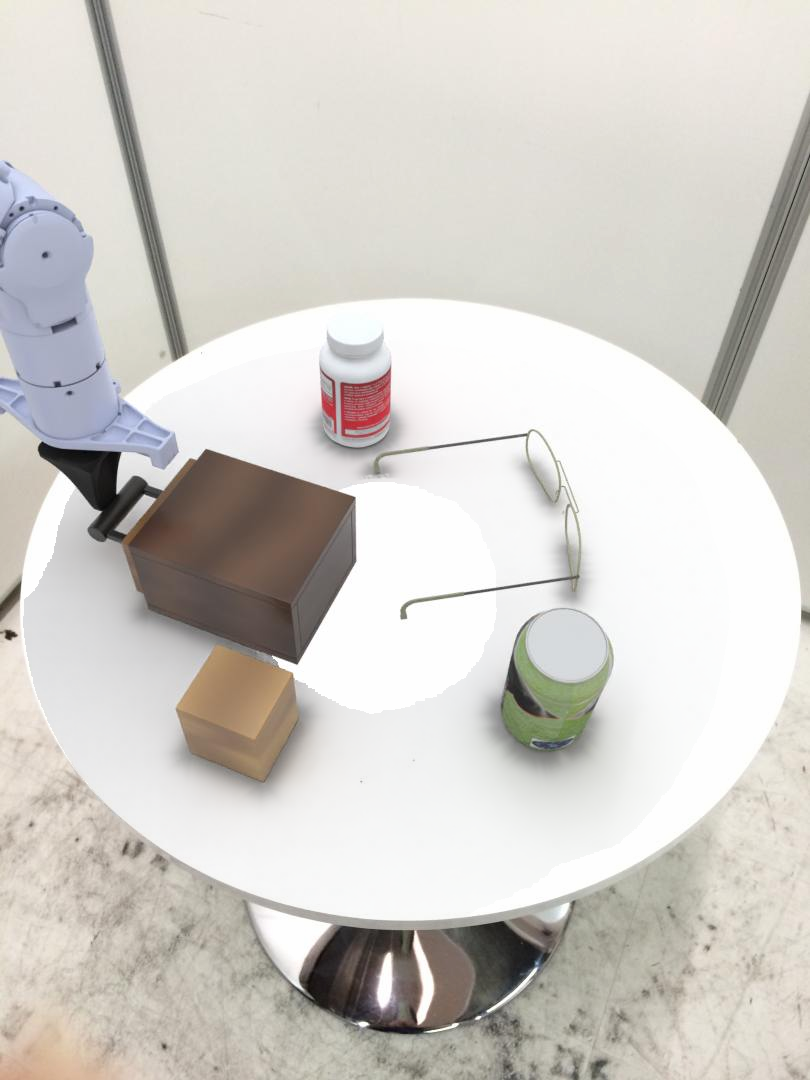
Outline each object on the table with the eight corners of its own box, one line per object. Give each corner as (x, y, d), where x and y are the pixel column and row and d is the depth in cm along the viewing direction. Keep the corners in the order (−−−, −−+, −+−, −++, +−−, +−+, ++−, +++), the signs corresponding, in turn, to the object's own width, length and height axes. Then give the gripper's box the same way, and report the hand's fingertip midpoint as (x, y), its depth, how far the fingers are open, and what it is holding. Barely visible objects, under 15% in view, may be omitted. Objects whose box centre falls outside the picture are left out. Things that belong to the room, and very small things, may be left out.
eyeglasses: (588, 600, 68) (602, 560, 64) (400, 620, 66) (402, 580, 62) (537, 458, 78) (546, 416, 74) (372, 472, 76) (373, 429, 72)
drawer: (83, 571, 67) (63, 521, 62) (150, 490, 73) (136, 439, 68) (272, 641, 63) (265, 594, 59) (327, 550, 69) (324, 501, 65)
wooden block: (189, 752, 58) (174, 708, 54) (227, 690, 62) (216, 643, 57) (263, 783, 57) (254, 740, 53) (298, 718, 60) (293, 672, 56)
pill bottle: (402, 420, 81) (406, 320, 72) (367, 459, 77) (367, 359, 69) (345, 396, 83) (343, 296, 74) (309, 434, 79) (302, 333, 71)
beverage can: (583, 684, 63) (619, 583, 54) (586, 778, 58) (627, 686, 49) (496, 675, 63) (518, 573, 54) (493, 768, 58) (517, 675, 49)
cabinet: (148, 609, 66) (127, 545, 60) (218, 514, 72) (205, 448, 67) (297, 665, 63) (290, 603, 57) (356, 561, 70) (356, 496, 64)
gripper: (189, 354, 58) (214, 495, 68) (7, 300, 61) (58, 442, 71) (129, 419, 53) (165, 558, 64) (-63, 357, 56) (1, 499, 67)
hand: (105, 501), depth 67 cm, fingers closed, pressing on drawer
